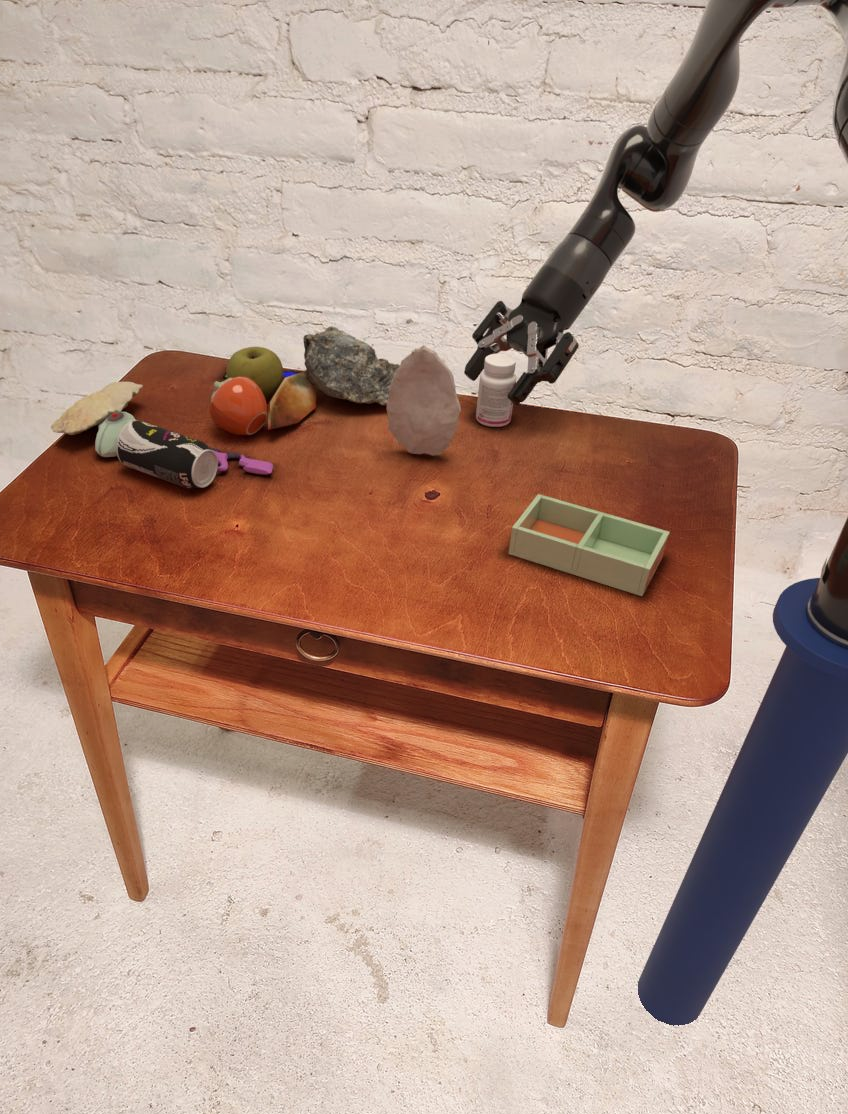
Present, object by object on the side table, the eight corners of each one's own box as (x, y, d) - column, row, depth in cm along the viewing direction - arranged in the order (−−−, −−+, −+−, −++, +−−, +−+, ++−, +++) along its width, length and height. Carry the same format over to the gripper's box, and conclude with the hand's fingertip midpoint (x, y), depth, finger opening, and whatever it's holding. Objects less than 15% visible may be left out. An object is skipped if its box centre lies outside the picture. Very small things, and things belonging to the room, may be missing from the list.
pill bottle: (516, 426, 117) (524, 365, 111) (482, 429, 116) (489, 369, 110) (503, 409, 120) (510, 350, 115) (470, 413, 120) (476, 353, 114)
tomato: (283, 412, 115) (243, 372, 117) (269, 392, 108) (225, 350, 109) (244, 452, 116) (204, 412, 117) (227, 435, 108) (184, 393, 110)
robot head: (129, 471, 107) (161, 435, 110) (114, 445, 104) (147, 409, 107) (84, 460, 111) (116, 425, 114) (68, 435, 108) (101, 400, 111)
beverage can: (147, 417, 108) (224, 443, 103) (142, 463, 110) (218, 490, 106) (113, 419, 103) (193, 446, 99) (109, 466, 105) (187, 495, 101)
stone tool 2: (457, 454, 111) (468, 338, 101) (455, 467, 109) (466, 350, 99) (386, 447, 112) (389, 332, 102) (382, 459, 110) (385, 343, 100)
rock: (409, 337, 114) (357, 378, 110) (415, 398, 122) (367, 439, 118) (331, 303, 120) (280, 341, 117) (342, 363, 128) (294, 401, 125)
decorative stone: (256, 393, 109) (239, 401, 111) (276, 436, 111) (259, 442, 113) (313, 363, 120) (296, 370, 121) (330, 403, 121) (314, 409, 123)
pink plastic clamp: (280, 462, 107) (258, 478, 104) (280, 469, 108) (258, 485, 104) (144, 425, 114) (119, 439, 110) (145, 432, 115) (120, 446, 111)
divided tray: (662, 558, 95) (670, 531, 92) (642, 596, 90) (650, 569, 87) (533, 519, 100) (538, 493, 98) (508, 554, 95) (512, 527, 93)
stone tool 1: (91, 450, 109) (160, 398, 119) (79, 419, 106) (150, 369, 116) (41, 447, 112) (112, 397, 122) (28, 417, 110) (102, 369, 120)
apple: (220, 411, 118) (214, 361, 114) (243, 386, 124) (238, 337, 120) (272, 419, 117) (269, 368, 112) (293, 394, 123) (291, 344, 118)
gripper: (515, 249, 113) (440, 355, 116) (597, 281, 105) (514, 395, 107) (539, 283, 119) (467, 383, 122) (618, 316, 111) (539, 423, 113)
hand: (489, 389), depth 115 cm, fingers open, 8 cm apart
